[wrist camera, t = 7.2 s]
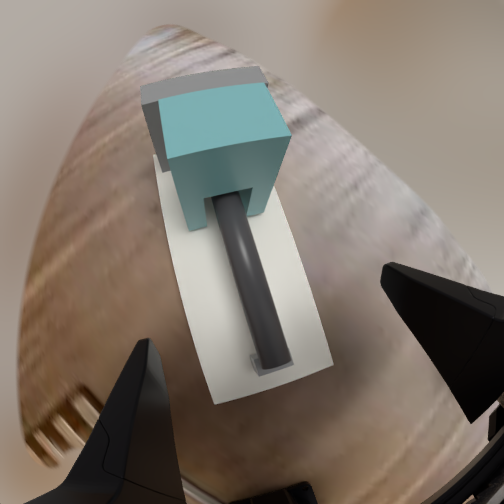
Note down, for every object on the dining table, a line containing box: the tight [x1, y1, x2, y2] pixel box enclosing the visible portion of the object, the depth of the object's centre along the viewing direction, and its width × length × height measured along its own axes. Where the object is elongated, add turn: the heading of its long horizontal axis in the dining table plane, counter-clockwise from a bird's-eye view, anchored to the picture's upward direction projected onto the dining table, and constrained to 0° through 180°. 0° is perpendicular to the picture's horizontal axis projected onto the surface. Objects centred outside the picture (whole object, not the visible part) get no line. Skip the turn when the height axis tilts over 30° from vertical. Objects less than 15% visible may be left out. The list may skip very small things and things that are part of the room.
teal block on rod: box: [158, 82, 292, 231], centre depth 14 cm, size 4×5×8 cm
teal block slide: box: [140, 66, 334, 405], centre depth 15 cm, size 18×8×8 cm, turn 17°
